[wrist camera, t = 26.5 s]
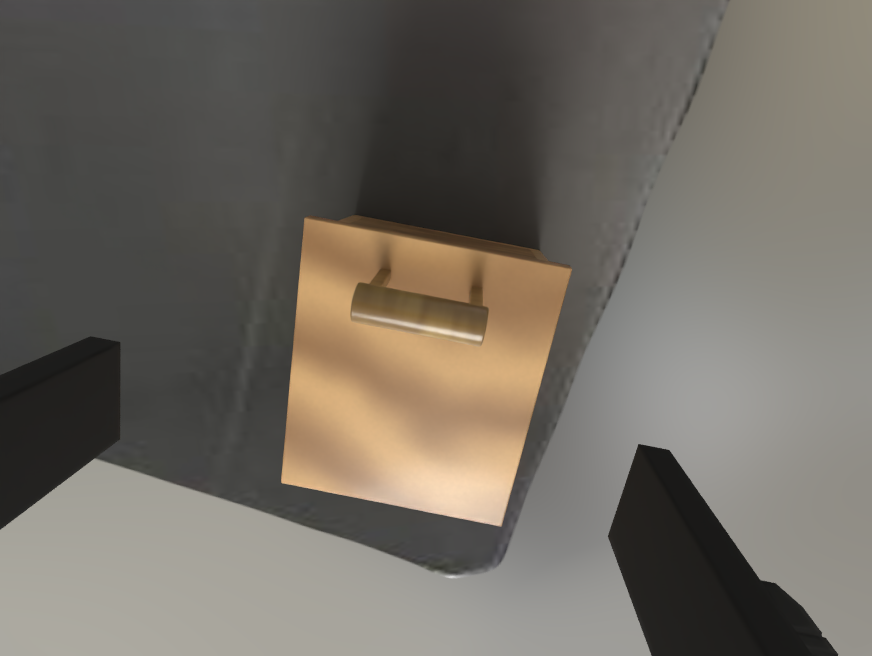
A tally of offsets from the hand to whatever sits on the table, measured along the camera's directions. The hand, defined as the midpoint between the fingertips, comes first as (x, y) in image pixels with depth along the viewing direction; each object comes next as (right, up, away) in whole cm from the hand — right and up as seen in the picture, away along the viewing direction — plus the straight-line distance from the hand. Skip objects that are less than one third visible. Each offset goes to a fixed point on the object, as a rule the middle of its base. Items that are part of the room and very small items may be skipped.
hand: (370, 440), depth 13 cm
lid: (0, -1, +21) cm, 21 cm away
